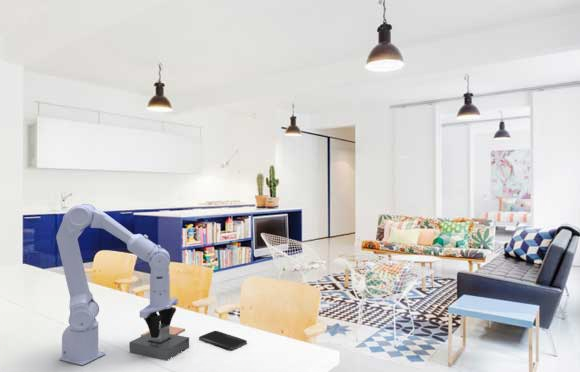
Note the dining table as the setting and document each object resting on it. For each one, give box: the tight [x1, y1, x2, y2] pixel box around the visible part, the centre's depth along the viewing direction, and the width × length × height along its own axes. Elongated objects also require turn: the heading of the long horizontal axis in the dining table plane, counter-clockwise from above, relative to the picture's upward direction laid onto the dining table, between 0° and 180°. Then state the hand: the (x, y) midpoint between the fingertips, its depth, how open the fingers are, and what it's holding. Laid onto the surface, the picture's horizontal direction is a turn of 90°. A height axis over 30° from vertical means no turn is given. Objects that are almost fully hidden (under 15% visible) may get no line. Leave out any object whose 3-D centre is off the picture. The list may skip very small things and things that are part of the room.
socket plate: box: [129, 333, 190, 361], centre depth 120 cm, size 14×10×3 cm
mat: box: [140, 325, 186, 337], centre depth 134 cm, size 10×10×1 cm
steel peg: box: [150, 322, 169, 344], centre depth 120 cm, size 4×4×7 cm
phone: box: [198, 330, 248, 352], centre depth 127 cm, size 8×1×15 cm
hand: (159, 334), depth 120 cm, fingers closed on steel peg, 4 cm apart
